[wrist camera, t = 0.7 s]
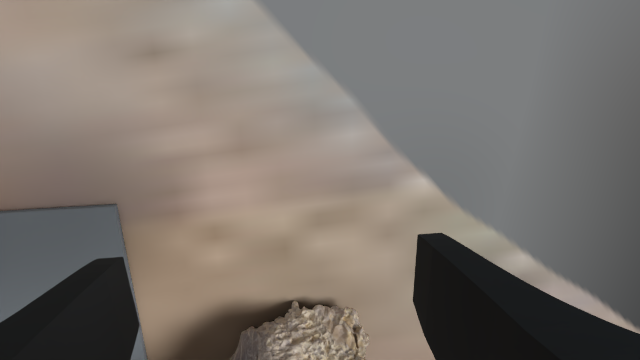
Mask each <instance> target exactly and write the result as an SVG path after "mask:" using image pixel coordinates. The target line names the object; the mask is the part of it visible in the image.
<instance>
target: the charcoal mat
mask: <svg viewBox="0 0 640 360" xmlns="http://www.w3.org/2000/svg"><path fill="white" fill-rule="evenodd" d="M113 257H123V258H124V263H125V267H126V271H127V275H128V279H129V283H130V287H131V291H132V295H133V299H134V303H135V308H136V312H137V316H138V320H139V315H138V310H137V305H136V300H135V294H134V289H133V284H132V279H131V274H130V269H129V264H128V259H127V254H126V249H125V244H124V239H123V234H122V229H121V224H120V219H119V214H118V209H117V204H109V205H93V206H76V207H59V208H42V209H26V210H9V211H0V323H1V322H2V321H4V320H5V319H7V318H8V317H10V316H11V315H13V314H15V313H16V312H18V311H19V310H21V309H22V308H23V307H25V306H26V305H28V304H29V303H31V302H32V301H34V300H35V299H37V298H38V297H39V296H41V295H42V294H44V293H45V292H47V291H48V290H50V289H51V288H53V287H54V286H55V285H57V284H58V283H60V282H61V281H63V280H64V279H66V278H67V277H68V276H70V275H71V274H73V273H74V272H76V271H77V270H79V269H80V268H82V267H83V266H85V265H87V264H88V263H90V262H92V261H94V260H95V259H99V258H113ZM139 324H140V320H139ZM131 360H147V355H146V350H145V345H144V340H143V335H142V330H141V325H140V326H139V330H138V334H137V338H136V342H135V346H134V349H133V353H132V356H131Z"/></svg>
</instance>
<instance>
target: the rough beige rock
mask: <svg viewBox="0 0 640 360" xmlns="http://www.w3.org/2000/svg"><path fill="white" fill-rule="evenodd" d="M288 312H289V313H286V314H285V317H281V316H279V317H278V318H276V319H275V320H274V321H272V322H265V323H263V325H262V326H259V327H258V328H254V327H253V326H251V327H249V328H248V329H247V330H244V331H243V332H242V333H241V336H240V341H239V345H238V347H237V349H236V351H235V353H234V354H233V356H232V357H231V358H230V359H229V360H366V359H364V358H365V355H366V354H365V353H366V347H367V346H368V345H369V340H368V339H369V335H368V334H366V333H364V329H363V327H362V326H361V325H360V322H359V320H358V319H359V315H358V312H357V311H356V310H354V309H353V308H351V309H350V308H348V307H345V309H340V308H339V307H338V306H332V307H331V308H329V307H326V306H323V305H319V304H318V305H316V306H314V307H313V309H312V310H309V309H307V308H306V307H303V308H302V309H299V304H298V303H297V302H296V301H294V302H292V308H291V309H289V310H288Z"/></svg>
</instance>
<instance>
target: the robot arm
mask: <svg viewBox="0 0 640 360" xmlns="http://www.w3.org/2000/svg"><path fill="white" fill-rule="evenodd" d="M413 302H414V306H415V309H416V312H417V315H418V318H419V321H420V324H421V327H422V330H423V333H424V336H425V338H426V340H427V342H428V344H429V347H430V349H431V351H432V353H433V355H434V357H435V359H436V360H640V334H638V333H635V332H633V331H630V330H627V329H625V328H622V327H620V326H617V325H615V324H612V323H610V322H607V321H605V320H603V319H600V318H598V317H596V316H594V315H591V314H589V313H587V312H585V311H583V310H580V309H578V308H576V307H574V306H571V305H569V304H567V303H565V302H563V301H561V300H559V299H557V298H555V297H553V296H551V295H549V294H547V293H545V292H543V291H541V290H539V289H538V288H536V287H534V286H532V285H530V284H528V283H526V282H524V281H523V280H521V279H519V278H517V277H516V276H514V275H512V274H510V273H509V272H507V271H505V270H503V269H502V268H500V267H498V266H497V265H495V264H493V263H492V262H490V261H488V260H487V259H485V258H483V257H482V256H480V255H479V254H477V253H475V252H474V251H472V250H470V249H469V248H467V247H465V246H464V245H462V244H461V243H459V242H457V241H456V240H454V239H452V238H450V237H449V236H447V235H445V234H443V233H433V234H419V235H418V239H417V252H416V266H415V280H414V293H413ZM139 326H140V324H139V320H138V316H137V312H136V308H135V303H134V299H133V295H132V291H131V287H130V283H129V279H128V275H127V271H126V267H125V263H124V258H123V257H113V258H99V259H95V260H94V261H92V262H90V263H88V264H87V265H85V266H83V267H82V268H80V269H79V270H77V271H76V272H74V273H73V274H71V275H70V276H68V277H67V278H66V279H64V280H63V281H61V282H60V283H58V284H57V285H55V286H54V287H53V288H51V289H50V290H48V291H47V292H45V293H44V294H42V295H41V296H39V297H38V298H37V299H35V300H34V301H32V302H31V303H29V304H28V305H26V306H25V307H23V308H22V309H21V310H19V311H18V312H16V313H15V314H13V315H11V316H10V317H8V318H7V319H5V320H4V321H2V322H1V323H0V360H131V356H132V353H133V349H134V346H135V342H136V338H137V334H138V330H139Z"/></svg>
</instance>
